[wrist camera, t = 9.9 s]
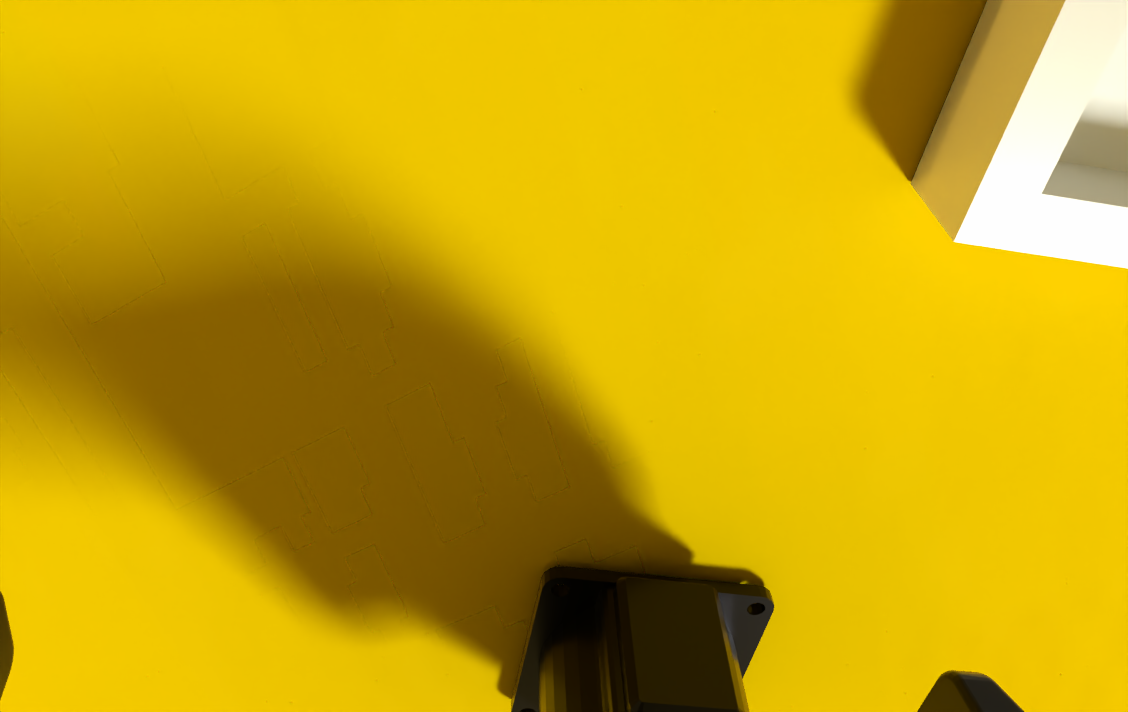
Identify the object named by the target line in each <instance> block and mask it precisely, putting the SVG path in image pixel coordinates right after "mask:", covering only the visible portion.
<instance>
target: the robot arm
mask: <svg viewBox="0 0 1128 712" xmlns="http://www.w3.org/2000/svg"><path fill="white" fill-rule="evenodd" d="M557 584H564V585H557ZM753 603H755V604H753ZM773 610H774V603H773V600H772V596H771V593H770V591H769V590H768V589H767V588H765V587H762V586H757V585H747V584H737V583H727V582H717V581H706V580H696V579H686V578H676V577H666V576H656V575H646V574H635V573H625V572H615V571H605V570H595V569H585V568H575V567H564V566H560V567H553V568H550V569H549V570H547V571H546V572H544V574H543V576H542V579H541V583H540V587H539V591H538V595H537V599H536V603H535V607H534V611H533V615H532V619H531V623H530V627H529V631H528V635H527V639H526V643H525V647H524V651H523V655H522V660H521V664H520V668H519V672H518V676H517V680H516V684H515V688H514V692H513V696H512V700H511V712H749V708H748V703H747V699H746V694H745V689H744V685H743V680H742V679H743V676H744V674H745V672H746V670H747V668H748V665H749V663H750V661H751V659H752V657H753V654H754V652H755V650H756V648H757V646H758V643H759V641H760V639H761V637H762V635H763V632H764V630H765V628H766V626H767V624H768V621H769V619H770V617H771V615H772V613H773ZM13 654H14V646H13V640H12V635H11V630H10V625H9V621H8V616H7V611H6V606H5V602H4V598H3V595H2V593H1V592H0V699H1V697H2V694H3V691H4V688H5V685H6V682H7V679H8V676H9V673H10V670H11V666H12V662H13ZM917 712H1024V711H1023V710H1022V709H1021V708H1020V707H1019V706H1018V705H1017V704H1016V703H1015V702H1014V701H1013V700H1012V699H1011V698H1010V697H1009V696H1008V695H1007V694H1006V693H1005V692H1004V691H1003V690H1002V689H1001V687H1000V686H999V685H998V684H997V683H996V682H994V681H993V680H992V679H991V678H990V677H988V676H987V675H984V674H981V673H977V672H965V671H954V670H951V671H947V672H945V673H943V674H942V675H941V676H940V677H939V678H938V680H937V681H936V683H935V684H934V686H933V688H932V689H931V691H930V692H929V694H928V695H927V697H926V699H925V700H924V702H923V703H922V705H921V706H920V708H919V710H918V711H917Z"/></svg>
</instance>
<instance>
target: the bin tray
mask: <svg viewBox="0 0 1128 712" xmlns="http://www.w3.org/2000/svg"><path fill="white" fill-rule="evenodd" d="M911 185H912V186H913V188H914V189H915V190H916V192H917V193H918V194H919V196H920V197H921V198H922V200H923V201H924V202H925V204H926V205H927V206H928V208H929V209H930V210H931V212H932V213H933V214H934V216H935V217H936V218H937V220H938V221H939V223H940V224H941V225H942V227H943V228H944V229H945V231H946V232H947V233H948V235H949V236H950V237H951V239H952V240H953V241H954V242H959V243H965V244H972V245H978V246H985V247H991V248H998V249H1005V250H1011V251H1018V252H1024V253H1031V254H1038V255H1044V256H1051V257H1057V258H1064V259H1070V260H1077V261H1084V262H1090V263H1097V264H1103V265H1110V266H1116V267H1123V268H1128V0H987V3H986V5H985V7H984V10H983V12H982V15H981V17H980V19H979V22H978V24H977V26H976V29H975V31H974V34H973V36H972V38H971V41H970V43H969V46H968V48H967V50H966V53H965V55H964V58H963V60H962V62H961V65H960V67H959V69H958V72H957V74H956V77H955V79H954V81H953V84H952V86H951V89H950V91H949V93H948V96H947V98H946V100H945V103H944V105H943V108H942V110H941V112H940V115H939V117H938V120H937V122H936V124H935V127H934V129H933V132H932V134H931V136H930V139H929V141H928V143H927V146H926V148H925V151H924V153H923V155H922V158H921V160H920V163H919V165H918V167H917V170H916V172H915V174H914V177H913V179H912V182H911Z"/></svg>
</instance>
